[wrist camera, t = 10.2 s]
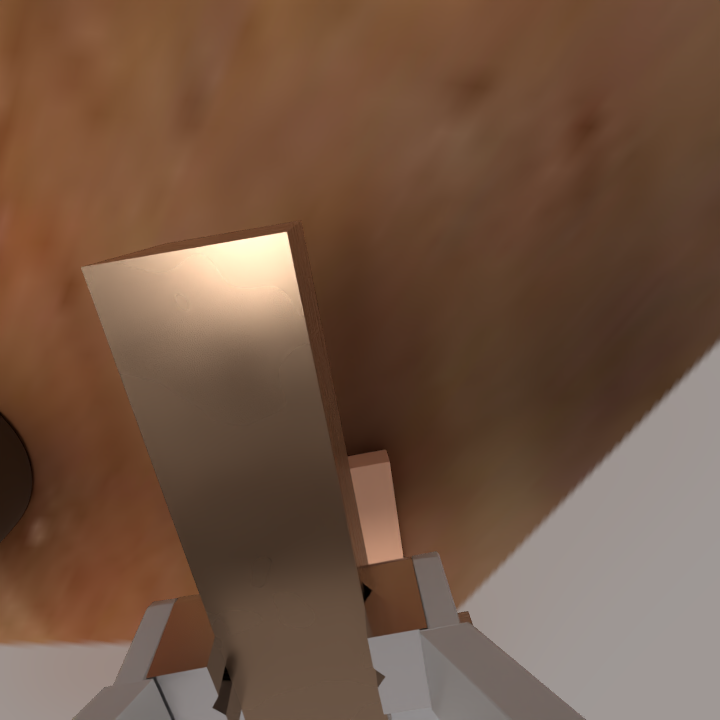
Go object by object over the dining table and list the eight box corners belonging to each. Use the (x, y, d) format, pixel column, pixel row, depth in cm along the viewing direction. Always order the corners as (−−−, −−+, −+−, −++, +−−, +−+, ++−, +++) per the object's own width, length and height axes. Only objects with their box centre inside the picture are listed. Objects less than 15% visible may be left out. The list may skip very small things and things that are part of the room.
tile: (389, 461, 22) (408, 590, 25) (384, 445, 24) (402, 568, 26) (243, 487, 22) (278, 615, 24) (248, 469, 23) (280, 591, 26)
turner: (423, 199, 8) (471, 200, 6) (482, 739, 13) (522, 884, 11) (41, 265, 8) (-106, 298, 6) (243, 781, 13) (221, 938, 11)
